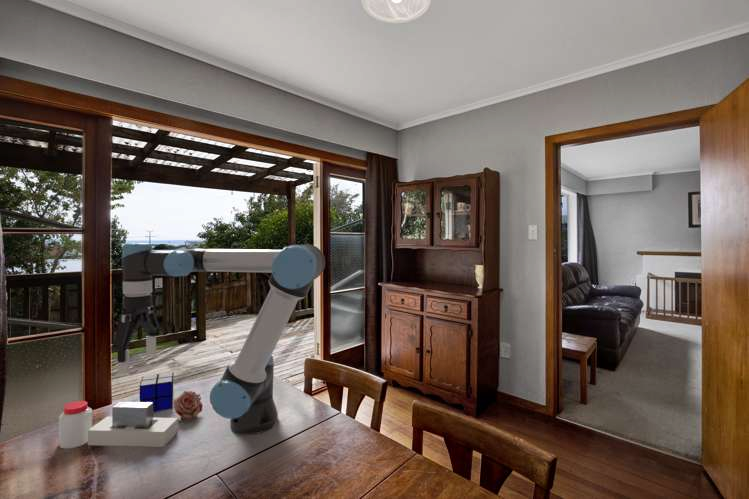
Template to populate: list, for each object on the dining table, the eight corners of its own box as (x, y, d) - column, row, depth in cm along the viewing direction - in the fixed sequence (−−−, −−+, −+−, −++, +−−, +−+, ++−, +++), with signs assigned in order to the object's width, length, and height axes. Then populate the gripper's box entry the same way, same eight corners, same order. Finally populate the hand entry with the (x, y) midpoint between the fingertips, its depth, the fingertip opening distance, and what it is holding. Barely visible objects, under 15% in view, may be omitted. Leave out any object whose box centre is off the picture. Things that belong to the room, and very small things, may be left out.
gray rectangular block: (152, 433, 114) (153, 402, 113) (146, 440, 110) (146, 407, 110) (120, 433, 113) (120, 401, 113) (112, 439, 110) (112, 407, 109)
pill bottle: (73, 450, 105) (73, 413, 104) (51, 446, 106) (51, 409, 106) (98, 435, 112) (98, 400, 112) (78, 432, 114) (78, 397, 113)
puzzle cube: (139, 414, 126) (139, 386, 125) (142, 402, 135) (142, 375, 134) (172, 409, 131) (172, 381, 130) (173, 397, 139) (173, 371, 139)
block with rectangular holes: (177, 431, 116) (177, 418, 116) (163, 446, 108) (163, 431, 108) (107, 430, 116) (107, 416, 115) (87, 445, 108) (87, 430, 107)
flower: (163, 413, 124) (169, 399, 120) (185, 397, 132) (192, 383, 129) (182, 433, 122) (189, 419, 119) (204, 415, 130) (211, 402, 127)
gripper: (149, 287, 122) (149, 350, 124) (94, 302, 98) (95, 380, 99) (171, 288, 123) (172, 350, 124) (123, 302, 98) (124, 380, 99)
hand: (138, 364), depth 111 cm, fingers open, 13 cm apart
